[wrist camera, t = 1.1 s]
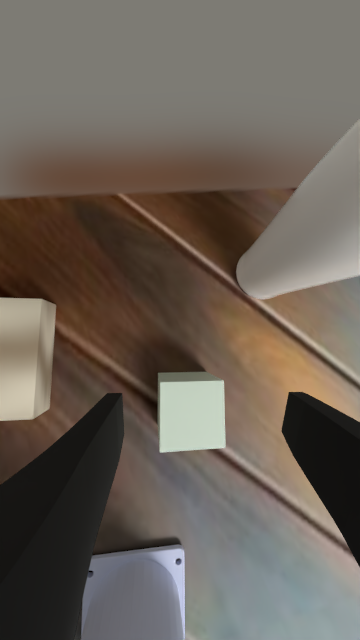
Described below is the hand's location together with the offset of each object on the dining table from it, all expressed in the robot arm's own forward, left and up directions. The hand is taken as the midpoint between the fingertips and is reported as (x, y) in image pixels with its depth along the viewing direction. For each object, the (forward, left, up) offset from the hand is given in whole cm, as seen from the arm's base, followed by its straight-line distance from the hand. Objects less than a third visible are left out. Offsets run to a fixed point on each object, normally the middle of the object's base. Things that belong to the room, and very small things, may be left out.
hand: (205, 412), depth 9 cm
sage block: (-2, -1, -11) cm, 11 cm away
